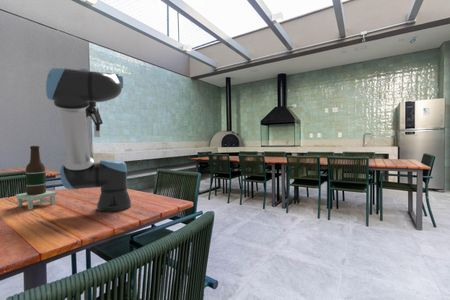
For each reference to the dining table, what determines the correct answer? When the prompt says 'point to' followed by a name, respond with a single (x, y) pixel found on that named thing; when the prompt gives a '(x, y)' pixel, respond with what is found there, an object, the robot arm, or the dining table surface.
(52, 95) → the robot arm
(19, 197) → the stool
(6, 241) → the dining table surface
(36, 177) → the beer bottle
